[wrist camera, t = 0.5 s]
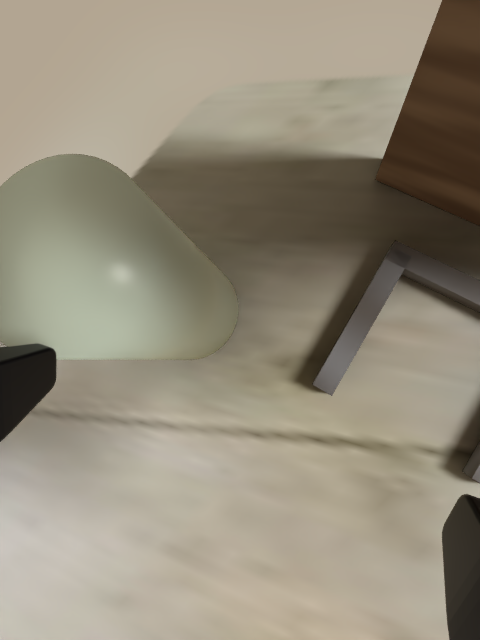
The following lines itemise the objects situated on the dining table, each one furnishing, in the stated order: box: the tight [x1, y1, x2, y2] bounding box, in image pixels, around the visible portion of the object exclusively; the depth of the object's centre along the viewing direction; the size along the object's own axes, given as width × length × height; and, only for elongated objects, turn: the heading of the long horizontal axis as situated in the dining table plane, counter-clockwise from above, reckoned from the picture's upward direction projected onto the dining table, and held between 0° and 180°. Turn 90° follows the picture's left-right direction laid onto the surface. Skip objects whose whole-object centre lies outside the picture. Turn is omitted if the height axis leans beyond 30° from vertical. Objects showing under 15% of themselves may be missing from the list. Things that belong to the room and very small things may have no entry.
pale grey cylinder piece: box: [0, 154, 238, 360], centre depth 18 cm, size 6×6×13 cm
